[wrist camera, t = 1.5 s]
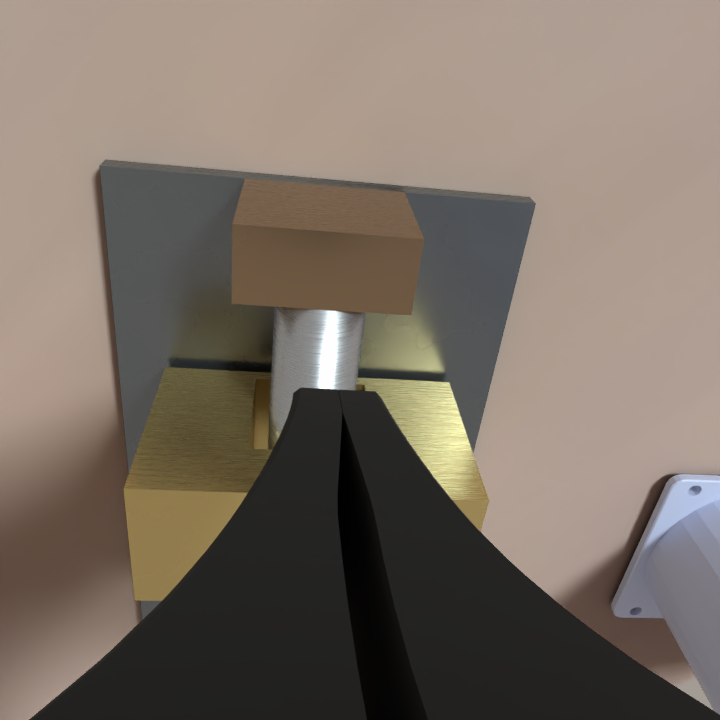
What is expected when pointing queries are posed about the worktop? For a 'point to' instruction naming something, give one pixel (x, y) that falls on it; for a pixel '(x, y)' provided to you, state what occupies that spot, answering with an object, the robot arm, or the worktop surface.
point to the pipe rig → (305, 283)
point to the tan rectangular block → (254, 461)
